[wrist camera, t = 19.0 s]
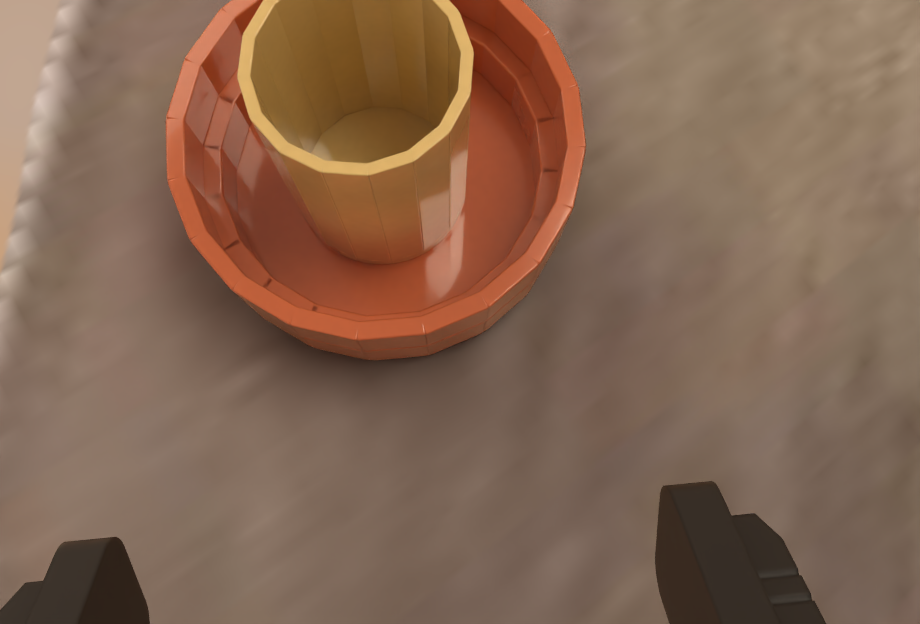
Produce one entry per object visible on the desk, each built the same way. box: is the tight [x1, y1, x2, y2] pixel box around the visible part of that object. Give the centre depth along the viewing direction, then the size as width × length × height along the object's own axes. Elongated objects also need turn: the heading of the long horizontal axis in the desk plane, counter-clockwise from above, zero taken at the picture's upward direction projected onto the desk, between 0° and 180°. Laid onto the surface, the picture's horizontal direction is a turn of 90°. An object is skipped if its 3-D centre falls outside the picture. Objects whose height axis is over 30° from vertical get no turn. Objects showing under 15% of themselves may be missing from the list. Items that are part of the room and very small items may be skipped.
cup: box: [237, 0, 474, 264], centre depth 27 cm, size 6×6×9 cm
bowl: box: [166, 0, 586, 360], centre depth 30 cm, size 13×13×5 cm
